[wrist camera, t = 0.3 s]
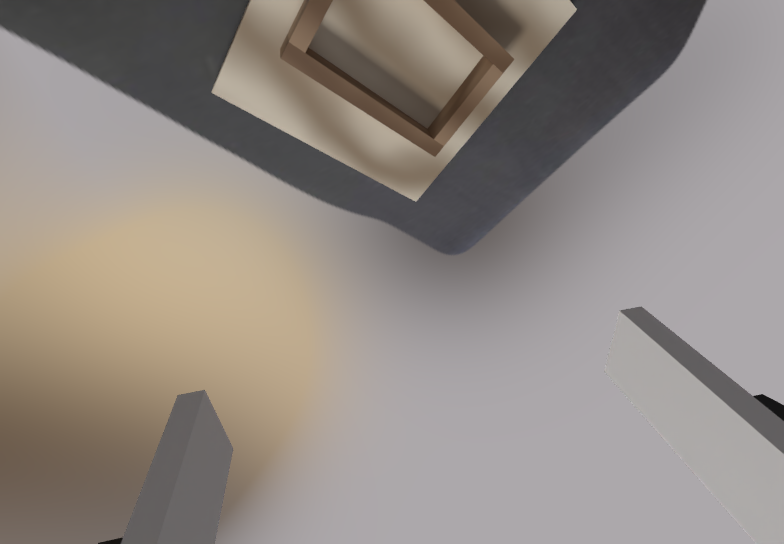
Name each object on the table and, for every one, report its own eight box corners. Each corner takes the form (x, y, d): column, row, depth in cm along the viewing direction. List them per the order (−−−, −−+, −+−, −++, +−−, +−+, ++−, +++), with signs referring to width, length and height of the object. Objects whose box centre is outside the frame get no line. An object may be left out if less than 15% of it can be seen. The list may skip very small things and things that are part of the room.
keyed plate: (357, -257, 20) (368, -274, 18) (566, 4, 31) (591, 16, 29) (213, 85, 30) (208, 103, 28) (412, 193, 41) (421, 213, 38)
